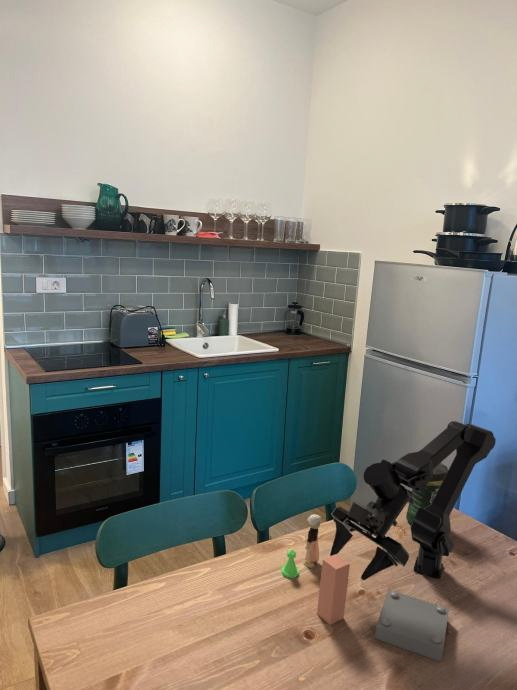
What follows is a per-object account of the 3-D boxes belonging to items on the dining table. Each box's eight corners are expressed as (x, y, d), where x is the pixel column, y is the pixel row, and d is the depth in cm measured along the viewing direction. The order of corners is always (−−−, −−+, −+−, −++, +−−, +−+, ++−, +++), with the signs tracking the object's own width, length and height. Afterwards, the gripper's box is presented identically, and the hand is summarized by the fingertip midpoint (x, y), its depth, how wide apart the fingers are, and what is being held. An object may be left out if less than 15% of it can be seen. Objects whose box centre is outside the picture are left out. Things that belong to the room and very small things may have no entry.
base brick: (386, 601, 121) (388, 587, 120) (447, 620, 116) (449, 606, 115) (374, 638, 109) (376, 623, 109) (441, 661, 104) (443, 646, 104)
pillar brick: (330, 607, 118) (336, 553, 115) (343, 618, 115) (349, 563, 112) (317, 613, 115) (322, 559, 113) (329, 625, 112) (336, 569, 110)
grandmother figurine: (317, 571, 130) (322, 523, 128) (301, 568, 131) (306, 521, 128) (320, 554, 137) (324, 508, 135) (305, 551, 138) (309, 506, 136)
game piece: (296, 580, 126) (298, 557, 125) (278, 575, 128) (280, 552, 126) (300, 569, 130) (303, 547, 129) (283, 565, 132) (285, 543, 130)
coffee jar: (419, 532, 151) (428, 471, 148) (401, 518, 158) (409, 459, 155) (445, 527, 155) (454, 467, 152) (427, 513, 162) (435, 456, 159)
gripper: (341, 473, 122) (300, 529, 118) (407, 509, 107) (363, 575, 103) (361, 497, 128) (322, 552, 124) (426, 534, 114) (385, 598, 109)
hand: (346, 567), depth 115 cm, fingers open, 9 cm apart
